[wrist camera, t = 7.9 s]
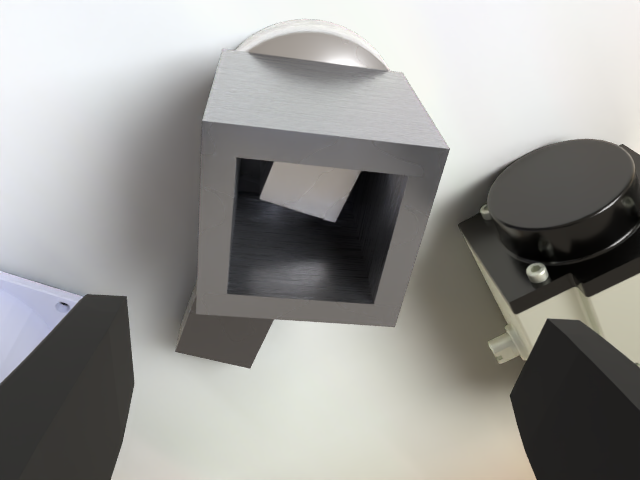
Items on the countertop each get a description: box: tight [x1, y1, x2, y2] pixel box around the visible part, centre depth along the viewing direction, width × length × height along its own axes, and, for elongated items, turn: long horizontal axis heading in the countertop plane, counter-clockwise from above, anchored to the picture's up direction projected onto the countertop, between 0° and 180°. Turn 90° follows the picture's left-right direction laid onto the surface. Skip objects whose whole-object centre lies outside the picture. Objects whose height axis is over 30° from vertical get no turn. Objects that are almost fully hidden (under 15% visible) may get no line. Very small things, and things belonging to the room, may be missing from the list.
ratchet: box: [175, 19, 390, 368], centre depth 18 cm, size 13×6×4 cm, turn 157°
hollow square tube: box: [196, 49, 450, 327], centre depth 14 cm, size 5×5×5 cm
